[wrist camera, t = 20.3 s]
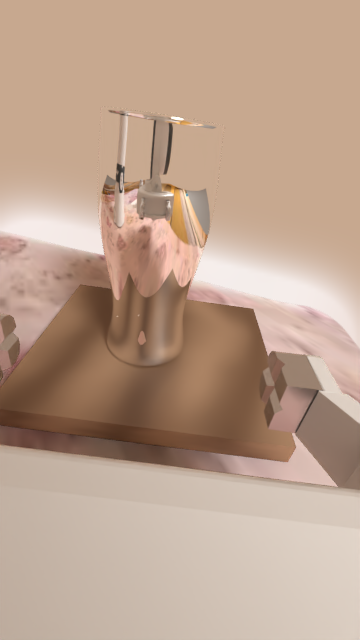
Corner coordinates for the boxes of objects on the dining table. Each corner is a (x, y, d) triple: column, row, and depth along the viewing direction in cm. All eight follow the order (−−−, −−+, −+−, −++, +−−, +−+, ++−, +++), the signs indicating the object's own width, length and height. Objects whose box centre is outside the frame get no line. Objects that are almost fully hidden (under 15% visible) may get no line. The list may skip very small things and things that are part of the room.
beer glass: (113, 313, 27) (115, 110, 18) (190, 324, 27) (224, 128, 19) (88, 364, 21) (74, 100, 13) (186, 378, 21) (235, 125, 13)
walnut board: (-9, 423, 18) (-15, 406, 17) (81, 297, 31) (80, 284, 30) (287, 462, 18) (296, 447, 17) (249, 320, 31) (253, 308, 31)
